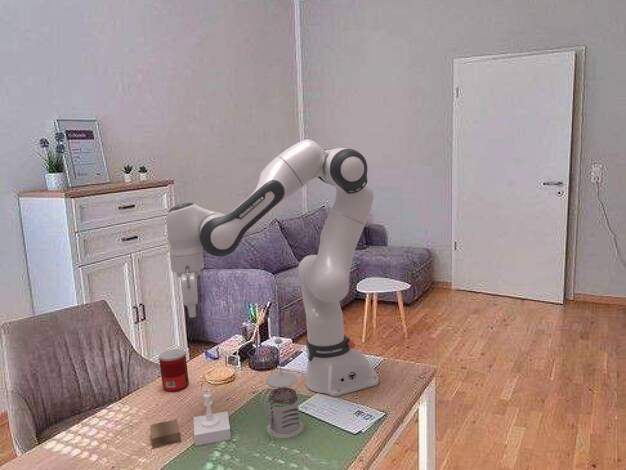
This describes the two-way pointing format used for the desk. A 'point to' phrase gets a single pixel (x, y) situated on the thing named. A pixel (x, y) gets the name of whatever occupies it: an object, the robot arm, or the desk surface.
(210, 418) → the chess piece
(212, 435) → the light block
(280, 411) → the french press
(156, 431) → the walnut block
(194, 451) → the desk surface
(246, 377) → the desk surface
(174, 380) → the canned food
